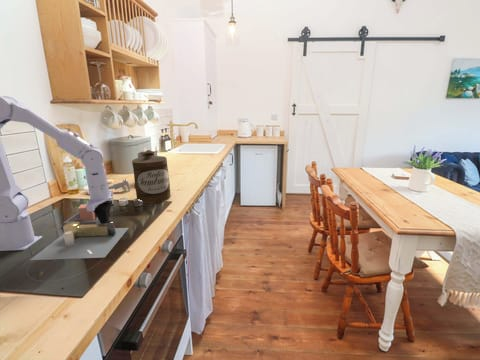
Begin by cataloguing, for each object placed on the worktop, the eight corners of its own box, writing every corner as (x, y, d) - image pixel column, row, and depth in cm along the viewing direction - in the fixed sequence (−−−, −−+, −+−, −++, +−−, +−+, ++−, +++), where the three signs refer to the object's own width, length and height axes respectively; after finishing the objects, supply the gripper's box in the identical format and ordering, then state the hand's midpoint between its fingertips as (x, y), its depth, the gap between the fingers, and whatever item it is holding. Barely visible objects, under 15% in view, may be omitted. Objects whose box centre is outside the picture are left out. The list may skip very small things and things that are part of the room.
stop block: (81, 224, 94) (78, 208, 92) (83, 219, 97) (80, 204, 96) (93, 222, 95) (91, 206, 93) (95, 218, 99) (92, 203, 97)
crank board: (30, 263, 72) (26, 247, 70) (69, 232, 89) (66, 219, 87) (105, 260, 72) (102, 244, 71) (129, 230, 89) (127, 217, 88)
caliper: (130, 190, 133) (128, 178, 131) (129, 191, 132) (128, 179, 130) (85, 194, 128) (83, 182, 126) (85, 195, 127) (82, 182, 125)
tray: (64, 229, 91) (63, 222, 90) (81, 216, 102) (80, 210, 101) (96, 228, 91) (95, 221, 91) (110, 215, 102) (109, 209, 101)
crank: (62, 239, 82) (59, 226, 80) (70, 232, 86) (67, 220, 85) (112, 237, 82) (110, 225, 81) (118, 231, 86) (116, 219, 85)
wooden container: (141, 206, 111) (134, 154, 105) (133, 196, 123) (127, 149, 117) (175, 198, 119) (170, 150, 113) (164, 190, 131) (160, 146, 125)
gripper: (99, 191, 79) (107, 232, 83) (119, 178, 93) (124, 213, 97) (76, 192, 79) (84, 233, 83) (98, 179, 93) (105, 214, 97)
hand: (104, 222), depth 90 cm, fingers closed
